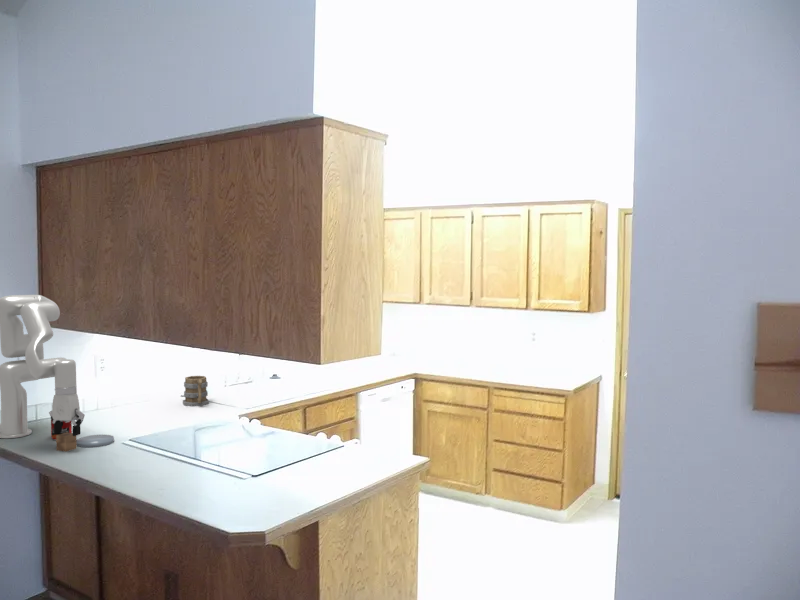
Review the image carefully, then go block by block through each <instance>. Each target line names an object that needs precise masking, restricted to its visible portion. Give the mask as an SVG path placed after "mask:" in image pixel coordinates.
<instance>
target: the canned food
mask: <svg viewBox="0 0 800 600" xmlns="http://www.w3.org/2000/svg"><path fill="white" fill-rule="evenodd" d="M52 422H53V421H52V420H51V419H50V437H51V439H52V440H53V441H55V440H56V435H59V434H63V433H66V432H68V433H73V423H72V422H71V421H60V422H62V432H61V433H58V434H54V424H53V423H52Z"/></svg>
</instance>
